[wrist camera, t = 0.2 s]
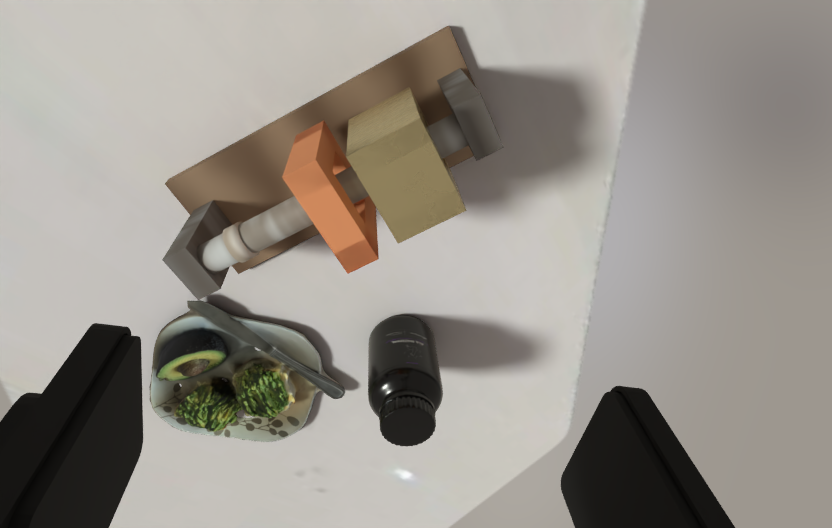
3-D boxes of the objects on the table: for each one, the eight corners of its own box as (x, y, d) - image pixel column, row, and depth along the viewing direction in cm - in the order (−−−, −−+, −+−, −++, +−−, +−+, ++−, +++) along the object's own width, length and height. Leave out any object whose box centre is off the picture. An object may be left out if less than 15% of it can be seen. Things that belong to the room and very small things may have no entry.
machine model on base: (240, 268, 50) (217, 330, 42) (168, 179, 45) (127, 230, 37) (496, 139, 46) (525, 180, 38) (447, 25, 41) (469, 45, 33)
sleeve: (348, 119, 40) (346, 156, 33) (409, 87, 39) (420, 118, 32) (392, 195, 43) (398, 243, 36) (449, 166, 42) (466, 210, 35)
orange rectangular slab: (296, 135, 41) (281, 177, 33) (323, 120, 40) (315, 159, 33) (350, 219, 45) (347, 273, 37) (375, 206, 44) (378, 258, 37)
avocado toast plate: (365, 324, 55) (365, 353, 51) (323, 443, 64) (321, 476, 60) (166, 281, 51) (149, 310, 47) (148, 415, 59) (133, 449, 55)
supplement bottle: (414, 301, 54) (427, 386, 44) (444, 347, 57) (462, 436, 47) (355, 330, 55) (353, 419, 45) (387, 373, 58) (393, 465, 48)
